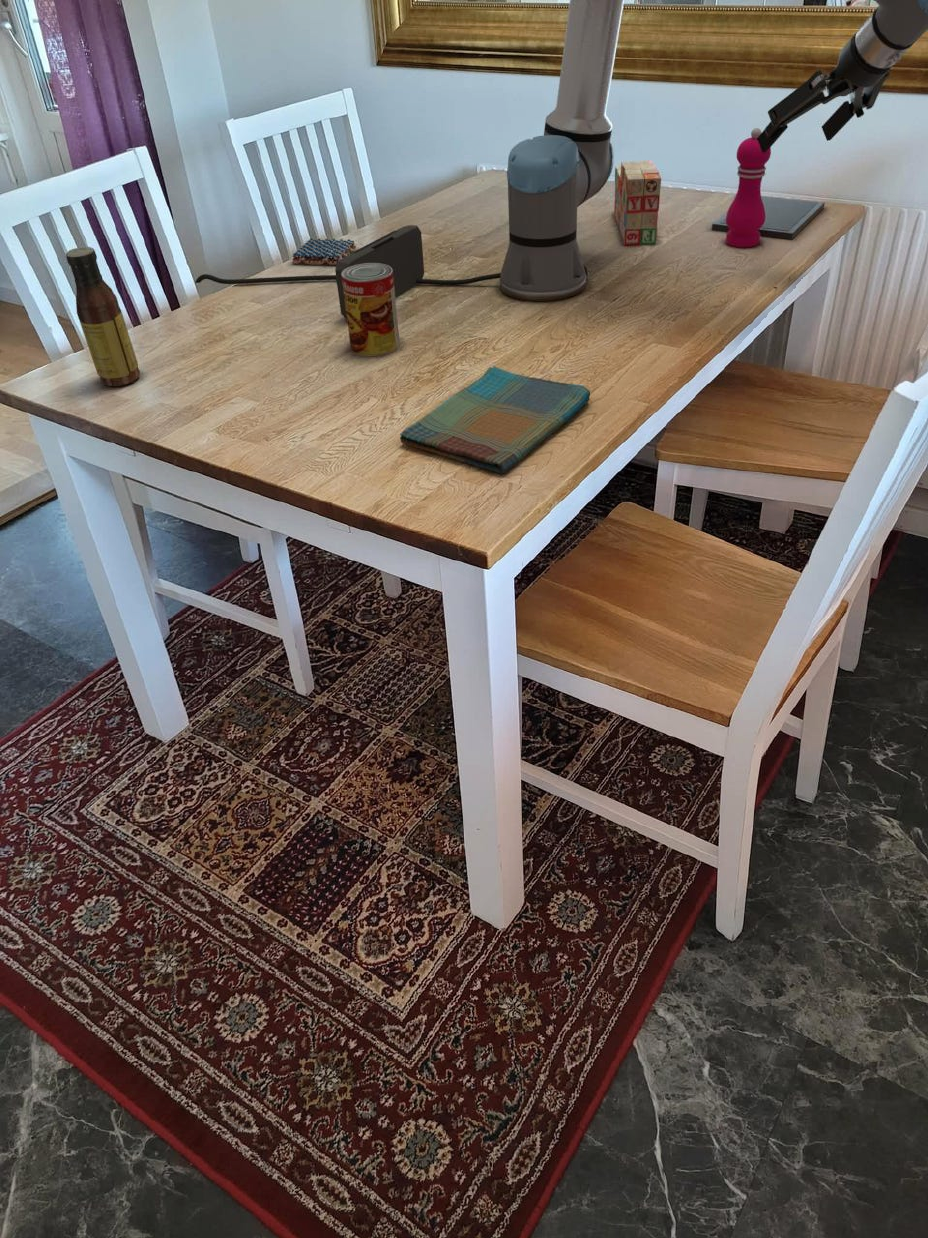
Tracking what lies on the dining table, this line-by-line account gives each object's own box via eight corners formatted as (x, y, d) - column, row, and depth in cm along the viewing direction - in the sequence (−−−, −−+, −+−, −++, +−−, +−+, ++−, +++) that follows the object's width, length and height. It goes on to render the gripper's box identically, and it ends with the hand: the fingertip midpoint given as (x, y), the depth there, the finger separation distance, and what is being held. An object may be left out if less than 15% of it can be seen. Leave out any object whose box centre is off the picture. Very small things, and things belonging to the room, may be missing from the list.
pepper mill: (721, 247, 185) (734, 132, 172) (724, 235, 190) (737, 123, 178) (760, 249, 183) (776, 132, 170) (763, 237, 188) (778, 123, 176)
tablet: (791, 239, 186) (792, 232, 185) (711, 229, 193) (712, 223, 192) (823, 208, 200) (825, 201, 200) (748, 199, 207) (748, 193, 207)
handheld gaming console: (413, 277, 180) (408, 221, 174) (425, 279, 179) (421, 223, 173) (339, 321, 165) (331, 261, 159) (352, 323, 164) (345, 263, 158)
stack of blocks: (613, 212, 205) (615, 149, 197) (642, 211, 205) (647, 148, 197) (624, 245, 188) (627, 177, 181) (656, 244, 188) (661, 176, 180)
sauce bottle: (125, 367, 154) (89, 239, 142) (149, 377, 151) (114, 246, 138) (90, 383, 150) (49, 252, 138) (114, 392, 147) (74, 260, 135)
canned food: (345, 342, 158) (335, 267, 150) (391, 333, 160) (383, 259, 152) (358, 360, 152) (348, 283, 144) (406, 350, 154) (399, 274, 146)
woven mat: (290, 265, 189) (288, 254, 188) (309, 247, 197) (308, 237, 196) (340, 266, 187) (339, 256, 185) (358, 248, 195) (357, 238, 193)
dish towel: (594, 403, 136) (595, 386, 135) (506, 477, 121) (505, 459, 120) (491, 378, 144) (491, 362, 143) (396, 445, 129) (395, 428, 128)
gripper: (817, 82, 142) (741, 170, 163) (947, 60, 150) (859, 147, 170) (798, 36, 143) (725, 130, 163) (929, 17, 150) (844, 109, 170)
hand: (793, 139), depth 167 cm, fingers open, 13 cm apart
